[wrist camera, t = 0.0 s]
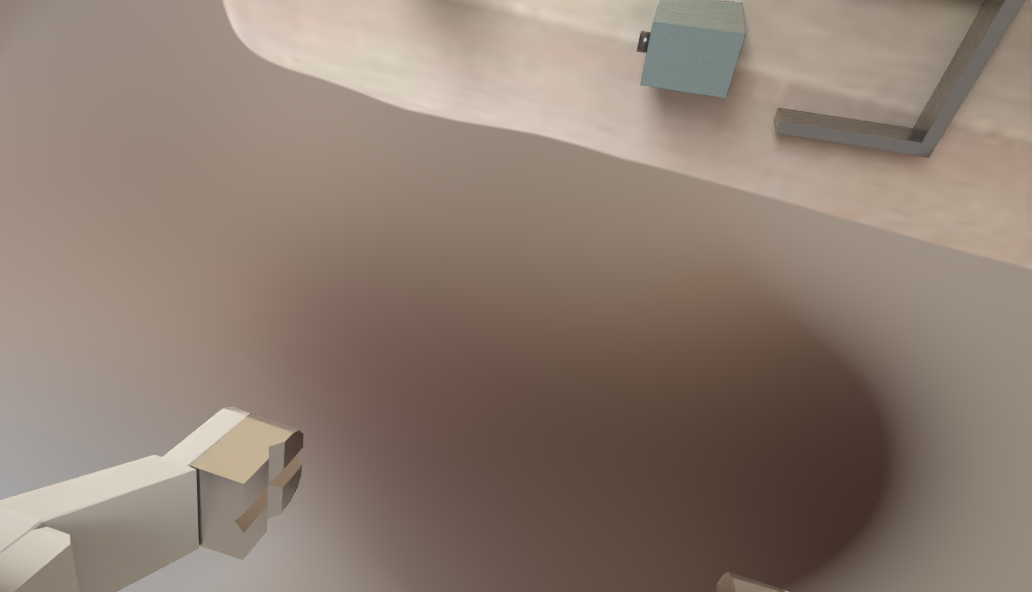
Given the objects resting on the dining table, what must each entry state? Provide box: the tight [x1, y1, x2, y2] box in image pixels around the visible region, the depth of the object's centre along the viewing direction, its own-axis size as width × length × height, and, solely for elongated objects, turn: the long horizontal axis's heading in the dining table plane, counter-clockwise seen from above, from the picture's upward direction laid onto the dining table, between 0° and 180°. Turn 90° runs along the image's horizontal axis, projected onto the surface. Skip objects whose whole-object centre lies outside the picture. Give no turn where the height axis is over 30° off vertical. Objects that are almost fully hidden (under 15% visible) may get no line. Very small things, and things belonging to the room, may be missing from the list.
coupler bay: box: [774, 0, 1025, 157], centre depth 47 cm, size 13×14×3 cm
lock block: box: [637, 0, 746, 98], centre depth 48 cm, size 8×5×9 cm, turn 87°
